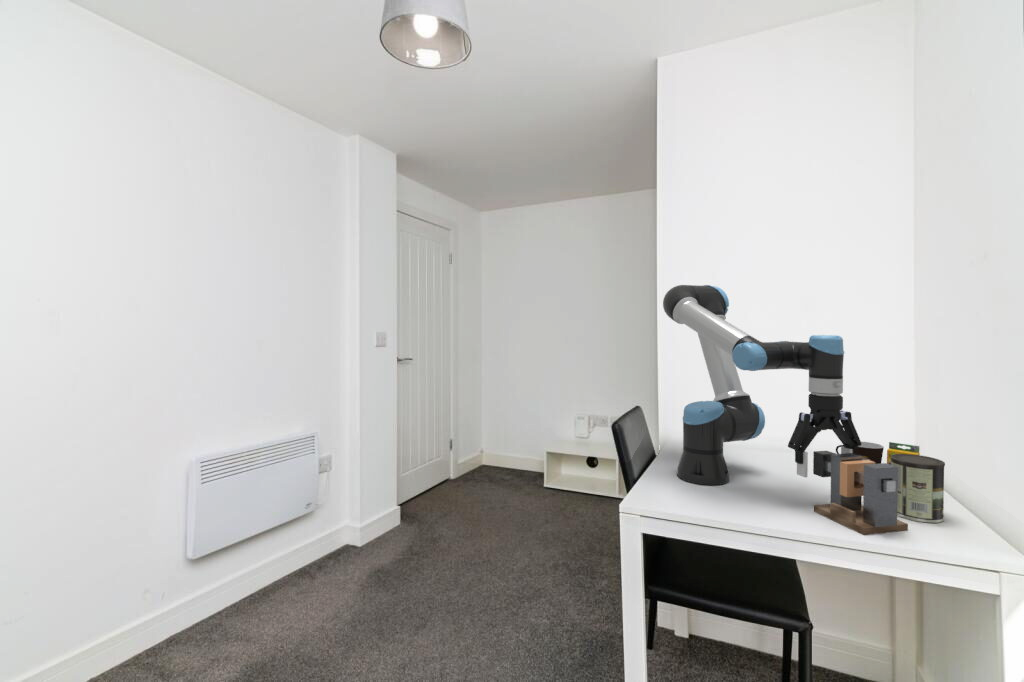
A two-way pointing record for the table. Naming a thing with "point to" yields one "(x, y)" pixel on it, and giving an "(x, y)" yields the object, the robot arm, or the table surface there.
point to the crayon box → (901, 450)
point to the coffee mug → (868, 451)
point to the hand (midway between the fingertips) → (824, 474)
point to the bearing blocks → (868, 491)
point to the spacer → (851, 477)
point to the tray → (855, 519)
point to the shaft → (824, 470)
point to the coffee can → (920, 487)
